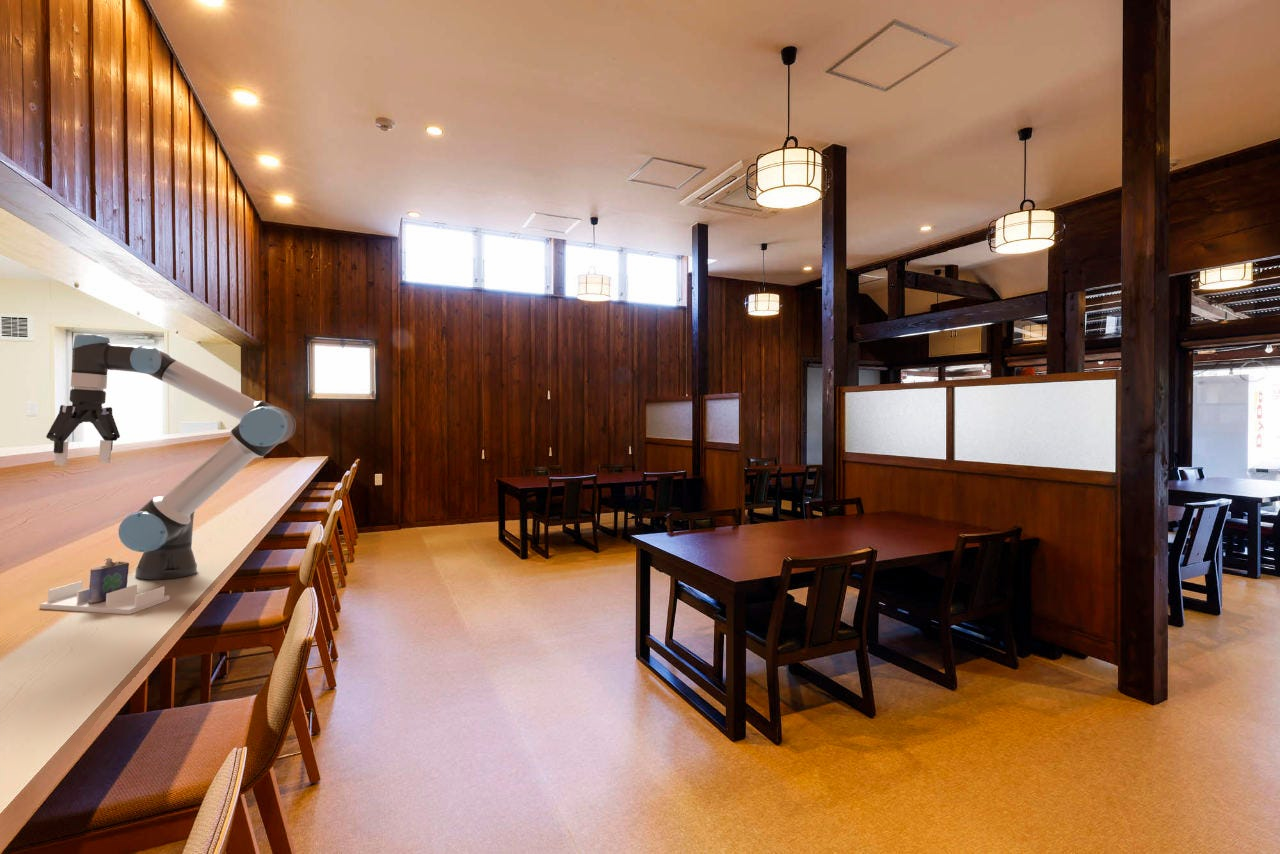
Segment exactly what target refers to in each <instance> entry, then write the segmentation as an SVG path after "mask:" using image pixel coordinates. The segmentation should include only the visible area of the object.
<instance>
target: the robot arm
mask: <svg viewBox="0 0 1280 854" xmlns="http://www.w3.org/2000/svg"><path fill="white" fill-rule="evenodd" d="M71 351H72V362H71V363H72V364H71V377H70V387H72V388H71V389H70V391H69V401H70V402H71V405H70V404H61V405H60V406H59V413H58V414H57V416H56V418H55V419H54V422H53V423H52V425H51V426H50V429H49V431H48V432H47V434H46V438H47V439H49V440H50V441H52V442H53V453H54V464H53V465H54V466H67V465H68V452H69V441H67V439H68V438H69V437H70V436H71V434H72V433H73V432H74V431H75V430H76V429H77V427H79V426H80V425H81V424H82V423H90V424H92V425H93V427H94V429H96V430H97V433H98V434H99V435H100V436H101V438H102V439H103V440H102V439H100V442H99V451H98V452H99V455H98V457H99V459H98V463H104V464H111V456H112V455H111V454H112V451H113V443H114V442H115V441H117V440H118V439H119V438H120V437H121V434H120V432H119V430H118V427H117V426H118V425H117V424H116V420H115V419H114V416H113V407H111V406H103V404H106V397H107V396H106V395H107V392H106V391H105V390H106V389H107V385H108V383H107V382H108V370H110V371H122V372H130V373H131V372H132V373H140V374H146V375H150V376H151V377H153V378H155V379H158V380H159V381H161V382H163V383H166V384H168V385H170V386H172V387H174V388H176V389H178V390H180V391H182V392H184V393H186V394H187V395H190V396H191V397H194V398H196V399H198V400H200V401H201V402H204V403H206V404H207V405H209V406H212V407H214V408H216V409H218V410H220V411H222V412H223V413H226V415H227V414H228V415H230V416H232V417H233V418H236V419H237V420H239V423H238V424H237V425H235V426H234V427H233V428H232V429H231V430H230V438H229V439H228V440H227V441H226V442H225V443H224V444H222V445H221V446H220V447H219V448H218V449H216V450H215V451H214V452H213V453H212V454H210V456H208V457H207V458H206V459H205V460H204V461H203V462H202V463H200V464H199V465H198V466H197V467H196V468H195V469H194V470H192V471H191V472H190V473H189V474H187V476H185V477H184V478H183V479H182V480H181V481H180V482H178V483H177V484H176V485H175V486H174V487H172V488H171V490H169V491H168V492H167V493H166V494H165V495H159V496H154V497H152V499H150V500H149V501H148V502H146V503H145V505H144V506H142V507H141V508H140V509H139V510H137V511H135V512H132V513H131V514H129V515H127V516H126V517H125V518H124V519H122V521H121V523H120V524H119V525H118V530H117V531H118V538H119V540H120V542H121V543H122V544H123V546H124V547H126V548H128V549H129V550H131V551H134V552H138V553H142V555H141V557H140V560H139V562H138V564H137V566H136V568H135V577H136V578H137V579H141V580H170V579H176V578H184V577H188V576H191V575H194V574H195V573H197V571H198V569H197V568H198V564H197V562H196V557H195V556H194V552H193V549H192V543H193V533H194V532H193V528H194V519H195V518H194V515H195V511H197V510H198V508H200V507H201V506H202V505H203V504H204V503H206V502H207V501H208V500H209V499H210V498H211V497H212V496H213V495H214V494H215V493H217V492H219V490H220V489H221V488H222V487H223V486H224V485H226V484H227V483H228V482H229V481H230V480H231V479H232V478H234V477H235V476H236V475H237V474H238V473H239V472H241V471H242V470H243V469H244V468H245V467H246V466H247V465H248V464H249V463H250V462H252V461H253V460H254V459H256V458H264V457H265V456H266V455H267V454H269V453H270V452H271V451H272V450H273V449H274V448H275V447H276V446H278V445H279V444H283V443H285V442H287V441H288V440H290V439H291V438H292V437H293V435H294V434H295V432H296V429H297V428H296V426H297V423H296V419H295V418H294V417H293V415H292V414H291V412H289V411H287V410H285V408H281V407H278V406H275V405H273V404H270V403H268V402H266V401H264V400H258V401H257V400H255V399H253V398H251V397H249V396H248V395H246V394H243V393H241V392H239V391H238V390H236V389H234V388H232V387H230V386H227V385H226V384H224V383H221V382H220V381H218V380H216V379H214V378H212V377H210V376H208V375H206V374H205V373H202V372H200V371H199V370H197V369H195V368H192V367H190V366H189V365H186V364H184V363H182V362H181V361H178V360H176V359H175V358H173V357H172V356H170V355H169V354H168V353H165V351H161V350H159V349H157V348H155V347H152V346H145V345H130V344H115V343H111V342H110V338H109V337H108V336H105V335H99V334H90V333H78V334H76V335H75V336H74V340H73V346H72V350H71ZM113 441H114V442H113Z"/></svg>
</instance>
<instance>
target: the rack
mask: <svg viewBox="0 0 1280 854" xmlns="http://www.w3.org/2000/svg"><path fill="white" fill-rule="evenodd" d="M165 587H166V586H164V585H163V586H160V587H157V588H154V589H151V590H148V591H145V592H142V593H138V584H133V585H130V586H129V585H128V586H127V587H126V588H123V589H120V590H116V591H113V592H110V593H107V594H106V601H105V602H102V603H95V604H89V603H88V599H89V588H85V589H83V580H80V581H76V582H72V583H69V584H66V585H65V584H64V585H61V586H58V587H53V588H50V589H48V591H47V601H45V602H42V603H39V609H40V610H42V609H43V610H54V611H56V610H57V611H68V612H69V611H73V612H83V613H84V612H86V613H87V612H89V613H99V614H100V613H103V614H117V615H119V614H120V615H132V614H134V613H137V612H140V611H142V610H145V609H148V608H151V607H154V606H157V605H159V604H161V603H164V602H165V603H166V602H167V601H170V596H171V595H168V594H167V595H166V594H165Z"/></svg>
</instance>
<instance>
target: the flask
mask: <svg viewBox="0 0 1280 854" xmlns="http://www.w3.org/2000/svg"><path fill="white" fill-rule="evenodd" d="M104 561H106V562H105V563H104V565H101V566H98V567H94V568H93V567H92V568H91V569H90V574H89V587H88V589H89V599H88V603H89V604H95V603H102V602H105V601H106V594H107V593H110V592H113V591H116V590H120V589H123V588H126V587H128V577H129V567H130V563H129V562H126V561H115V562H114V561H113V558H110V557H109V558H108V557H107V558H105V559H104Z"/></svg>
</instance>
